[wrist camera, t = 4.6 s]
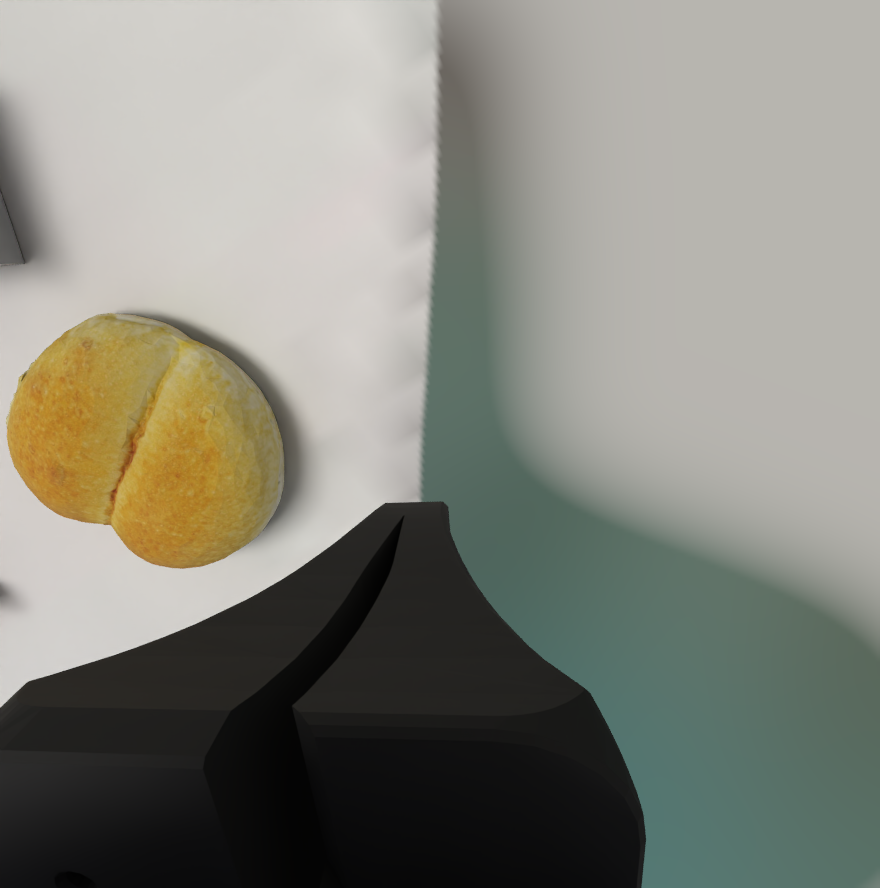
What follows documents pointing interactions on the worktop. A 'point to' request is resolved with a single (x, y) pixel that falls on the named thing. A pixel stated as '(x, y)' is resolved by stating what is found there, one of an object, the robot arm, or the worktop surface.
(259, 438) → the bread roll
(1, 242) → the button housing
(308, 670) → the robot arm
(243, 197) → the worktop surface
